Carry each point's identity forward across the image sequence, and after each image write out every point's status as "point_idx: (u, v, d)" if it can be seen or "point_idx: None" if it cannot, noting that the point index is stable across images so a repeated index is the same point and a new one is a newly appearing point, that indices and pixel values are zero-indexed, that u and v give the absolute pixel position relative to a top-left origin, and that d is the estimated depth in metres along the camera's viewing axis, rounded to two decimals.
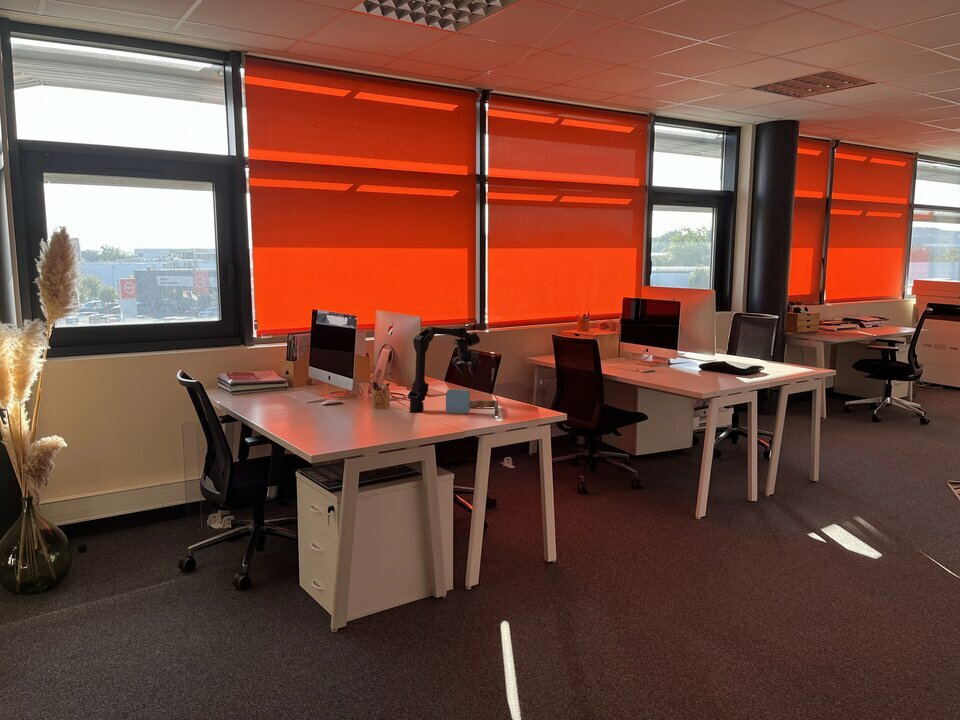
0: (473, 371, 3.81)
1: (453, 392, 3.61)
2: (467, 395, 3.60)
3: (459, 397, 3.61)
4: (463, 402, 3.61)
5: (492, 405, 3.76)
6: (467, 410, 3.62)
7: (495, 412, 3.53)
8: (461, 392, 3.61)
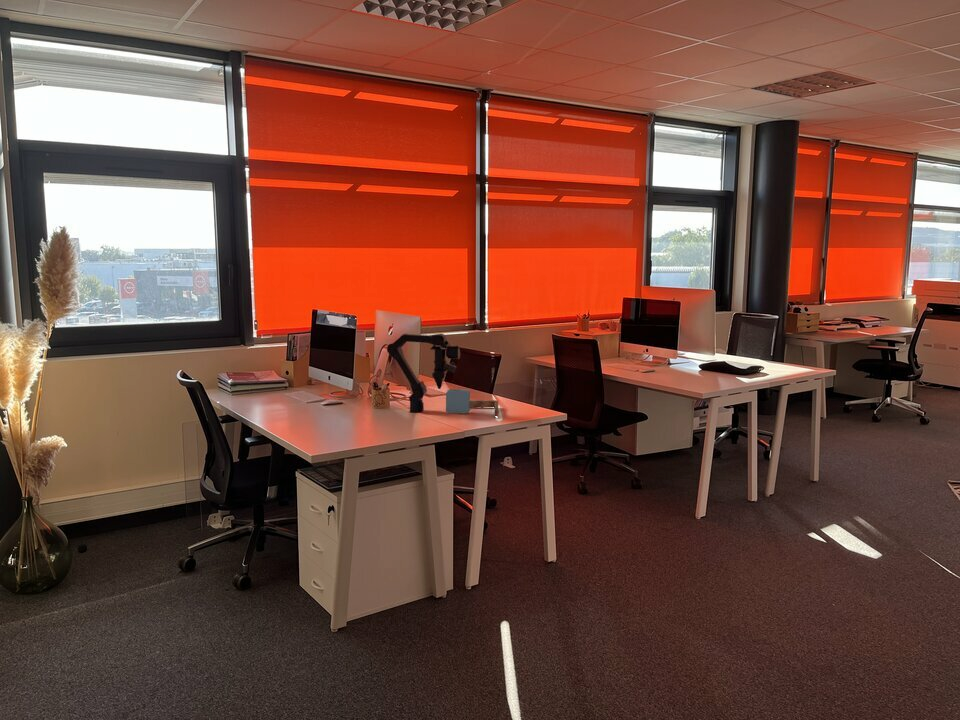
0: (438, 382, 3.59)
1: (453, 392, 3.61)
2: (467, 395, 3.60)
3: (459, 397, 3.61)
4: (463, 402, 3.61)
5: (492, 405, 3.76)
6: (467, 410, 3.62)
7: (495, 412, 3.53)
8: (461, 392, 3.61)
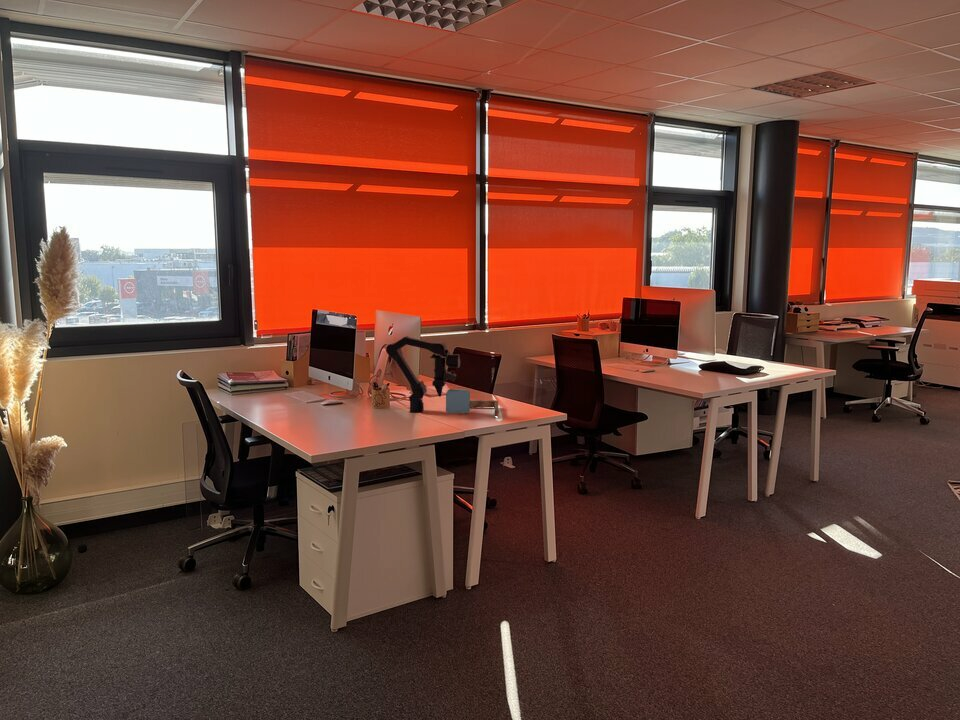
0: (438, 390, 3.62)
1: (453, 392, 3.61)
2: (467, 395, 3.60)
3: (459, 397, 3.61)
4: (463, 402, 3.61)
5: (492, 405, 3.76)
6: (467, 410, 3.62)
7: (495, 412, 3.53)
8: (461, 392, 3.61)
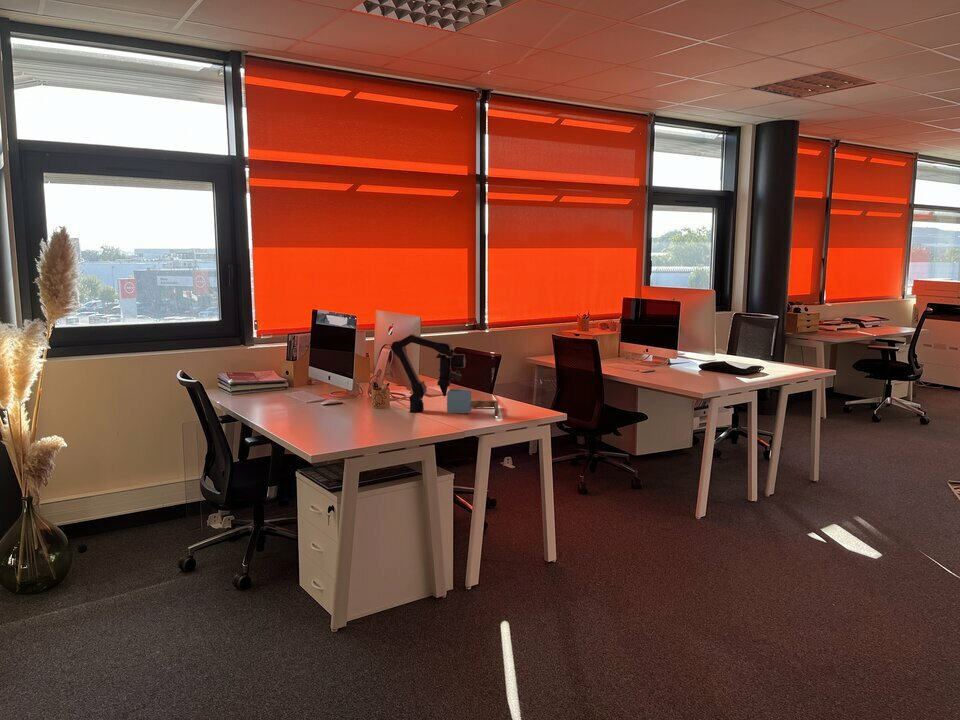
0: (443, 389, 3.62)
1: (454, 392, 3.61)
2: (468, 395, 3.60)
3: (460, 397, 3.61)
4: (464, 402, 3.61)
5: (492, 405, 3.76)
6: (468, 410, 3.62)
7: (495, 412, 3.53)
8: (462, 392, 3.61)
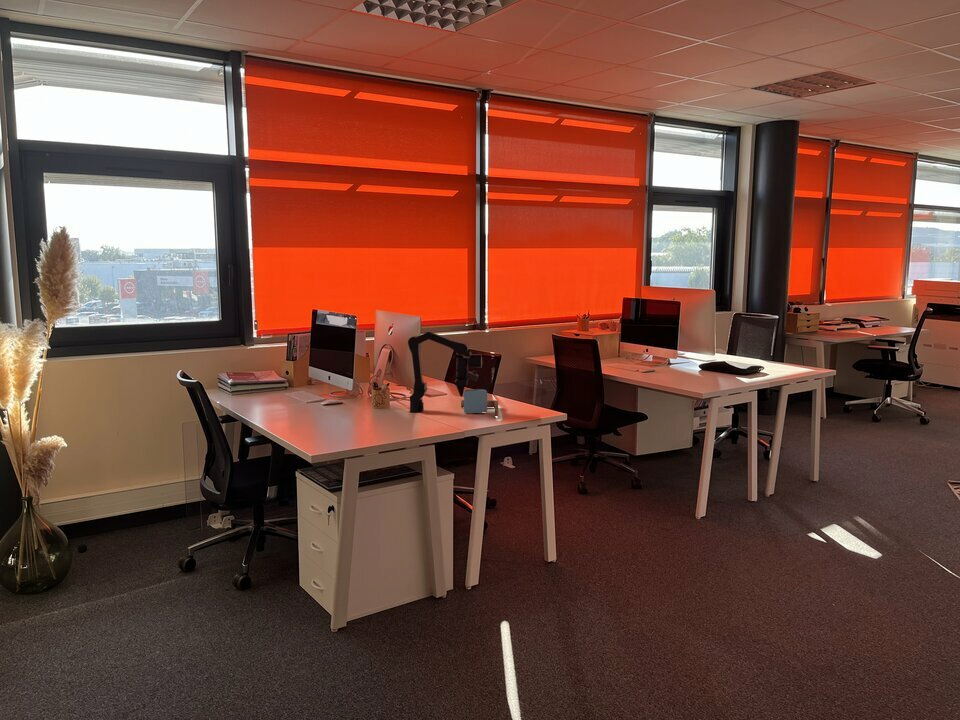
0: (460, 390, 3.62)
1: (471, 392, 3.61)
2: (485, 395, 3.61)
3: (478, 396, 3.61)
4: (481, 401, 3.62)
5: (492, 405, 3.76)
6: (485, 410, 3.62)
7: (495, 412, 3.53)
8: (479, 392, 3.61)
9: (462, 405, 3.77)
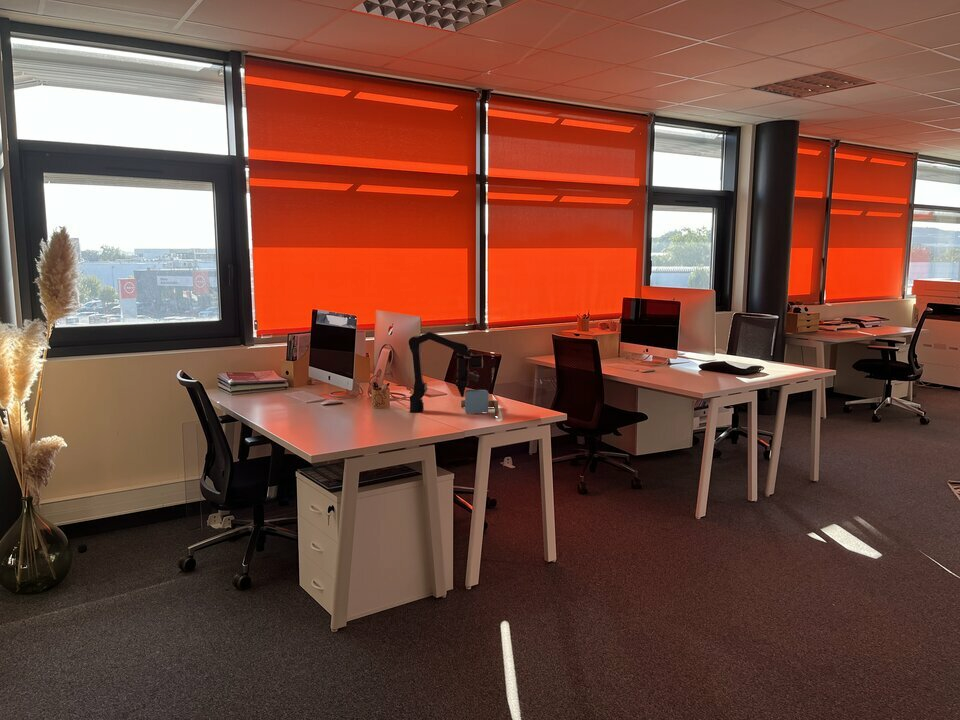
0: (461, 390, 3.62)
1: (472, 392, 3.61)
2: (487, 395, 3.61)
3: (479, 397, 3.61)
4: (482, 402, 3.61)
5: (492, 405, 3.76)
6: (487, 410, 3.62)
7: (495, 412, 3.53)
8: (481, 392, 3.61)
9: (462, 405, 3.77)
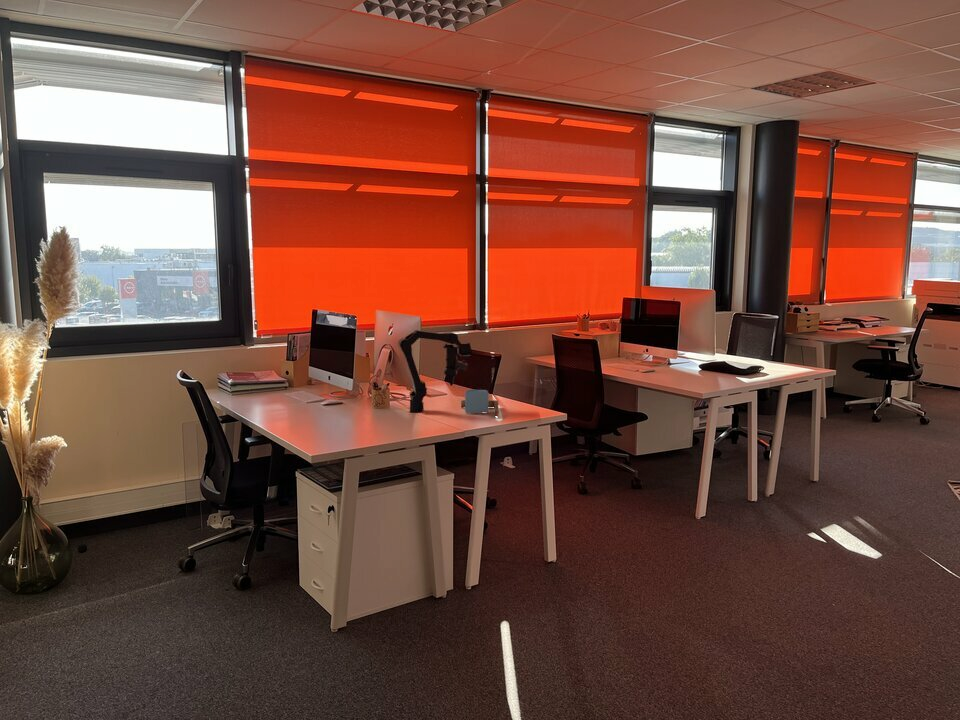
0: (450, 379, 3.69)
1: (473, 392, 3.61)
2: (487, 395, 3.61)
3: (479, 397, 3.61)
4: (482, 402, 3.62)
5: (492, 405, 3.76)
6: (487, 410, 3.62)
7: (495, 412, 3.53)
8: (481, 392, 3.61)
9: (462, 405, 3.77)
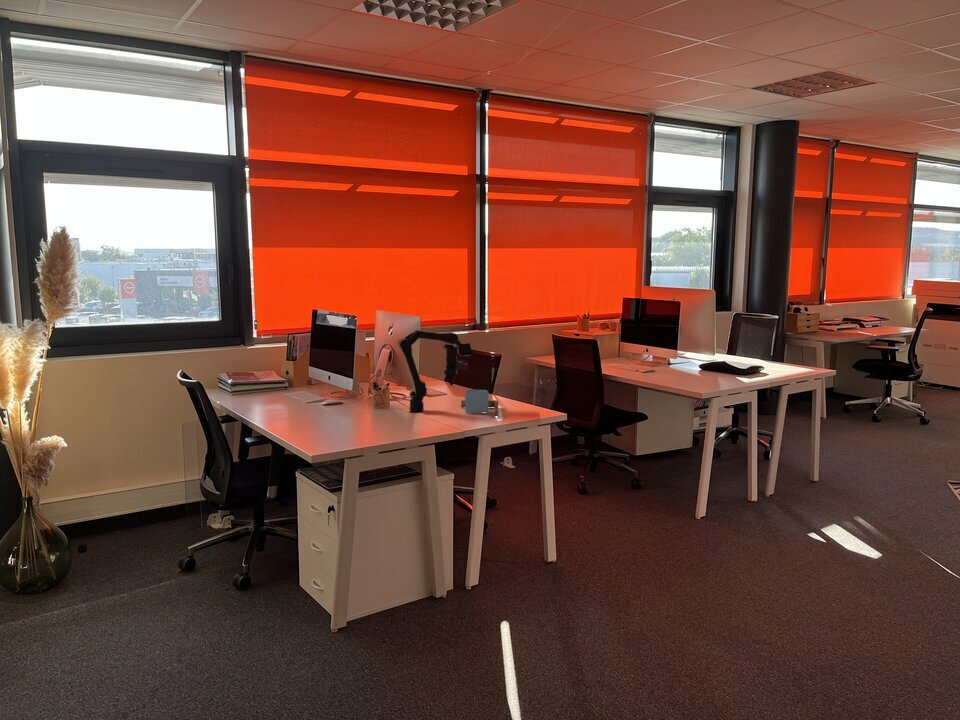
0: (450, 379, 3.69)
1: (473, 392, 3.61)
2: (487, 395, 3.61)
3: (479, 397, 3.61)
4: (482, 402, 3.62)
5: (492, 405, 3.76)
6: (487, 410, 3.62)
7: (495, 412, 3.53)
8: (481, 392, 3.61)
9: (462, 405, 3.77)
